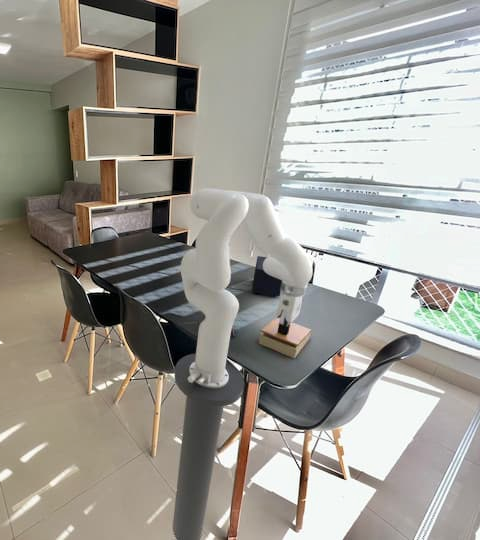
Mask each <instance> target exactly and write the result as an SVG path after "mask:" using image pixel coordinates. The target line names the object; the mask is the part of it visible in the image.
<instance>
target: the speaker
mask: <svg viewBox="0 0 480 540" xmlns="http://www.w3.org/2000/svg"><path fill="white" fill-rule="evenodd" d="M267 257H268V256H260V255H257V256H256V262H255V267H254V272H253V278H252V279H253V281H252V287H251V292H252V293H254V294H264V295H269V296H272V297H274V298H275V297H281V293H282V292H281V291H280V288H281V284H282V280H280V279H277V278H275V277H273V276H270V275H268V274H267V273H266V272H265V271H264V270H263V262H264V260H265V259H266V258H267Z"/></svg>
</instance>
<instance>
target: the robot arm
mask: <svg viewBox="0 0 480 540" xmlns="http://www.w3.org/2000/svg"><path fill="white" fill-rule="evenodd" d="M189 205H190V210H191V212H192V214H193V215H194V216H195V217H197V218H199V219H202V220H205V221H206V222H205V224H204V225H203V226H202V228H201V229H200V231H199V232H198V234H197V235H196V239H195V248H192V249H190V250H188V251H187V252H186V253H184V255H183V256H182V259H181V262H180V275H181V280H182V281H181V282H182V285H183V290H184V291H183V292H184V295H185V299H186V300H187V301H188V303H189V304H190V305H191V306H193V307H194V308H196V309H197V310H199V311H200V312H201V313H203V315H204V316H205V318H204V320H202V321H201V322H200V323H199V326H198V331H197V341H196V350H195V354H196V358H195V362H193V363H192V364H191V366H190V368H189V374H190V376H189V377H188V381H189V382H190V383H192V382H193V381H195V382H196V383H198V384H199V385H201V386H204V387H207V388H220V387H223V386H225V385H226V384H227V382H228V379H229V375H228V372H227V370H226V369H225V365H226V360H227V358H228V352H229V348H230V347H229V346H230V340H231V336H230V335H231V329H232V326H234V322H235V319H236V317H237V315H238V313H239V310H240V303H239V300H238V298H237V297H236V296H235V295H234V294H233V293H232V292H230V291H229V290H227V289H226V288H227V287H228V286H229V284H230V283H231V277H232V276H231V275H232V272H231V259H230V240H231V237H232V236H233V234H234V232H235V231H236V229H237V228H238V227H239V226H240V225H241V223H242V224H243V225H244V227H245V230H246V231H247V233H248V235H249V237H250V238H251V241H252V242H253V243H252V244H253V245H254V246H255V247H256V248H257V249H258V250H260V251H261V252H263V253H264V254H265V255H267V256H266V257H267V258H266V259H265V260H264V262H263V270H264V271H265V272H266V273H267V274H268V275H270V276H273V277H275V278H277V279H280V280H282V284H281V288H280V291H281V292H280V293H282V294H281V295H280V299H279V303H278V306H277V311H276V318H280V321H279V326H278V331H277V332H278V333H281V334H283V335H287V334H288V332H289V328H290V323H291V322H292V323H293V322H294V320H295V319H297V318H298V317H299V315H300V312H301V309H302V308H301V307H302V302H303V298H304V296H305V295H306V293H307V288H308V285H309V282H310V281H311V279H312V277H313V270H314V269H313V265H314V256H312V255H311V254H310V253H307V252H306V250H305V249H304V248H303V247H302V246H301V245H300V244H299V243H297V242H296V241H295V240H294V239H293V238H292V237H291V236H290V235H289V234H287V232H285V231H284V229H283V226H282V224H281V222H280V220H279V217H278V213H277V211H276V209H275V208H274V205H273V203H272V201H271V199H270V198H269V197H268V196H266V195H264V194H261V193H256V192H247V191H242V190H241V191H240V190H227V189H219V188H210V187H202V188H200V189H198V190H197V191H196V192H195V193H194V194H193V195H192V197H191V199H190V203H189Z"/></svg>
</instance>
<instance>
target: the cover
mask: <svg viewBox="0 0 480 540" xmlns="http://www.w3.org/2000/svg"><path fill="white" fill-rule="evenodd" d="M279 321H280V318H277V317H275V318H274V319H272V320H271V321H270V322H269V323H268V324H266V325H265V326H263V327H262V328H261V329H259V330H260V332H261V333H262V332H264V333H266V334H269V335H271V336H274V337H276V338H279V339H281V340H283V341H286V342H288V343H291V344H293V345H296V346H298V345H299V343H300V342H301V341H302V340H303V339H304V338H305V337H306V336H307V335H308V334H309V333H310V332H311V333H312V329H311V328H308V327H305V326H302V325H300V324H297V323H294V322H293V321H292V322H291V323H290V328H289V332H288V334H287V335H283V334H281V333H278V332H277V331H278V326H279ZM311 333H310V334H311Z"/></svg>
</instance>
